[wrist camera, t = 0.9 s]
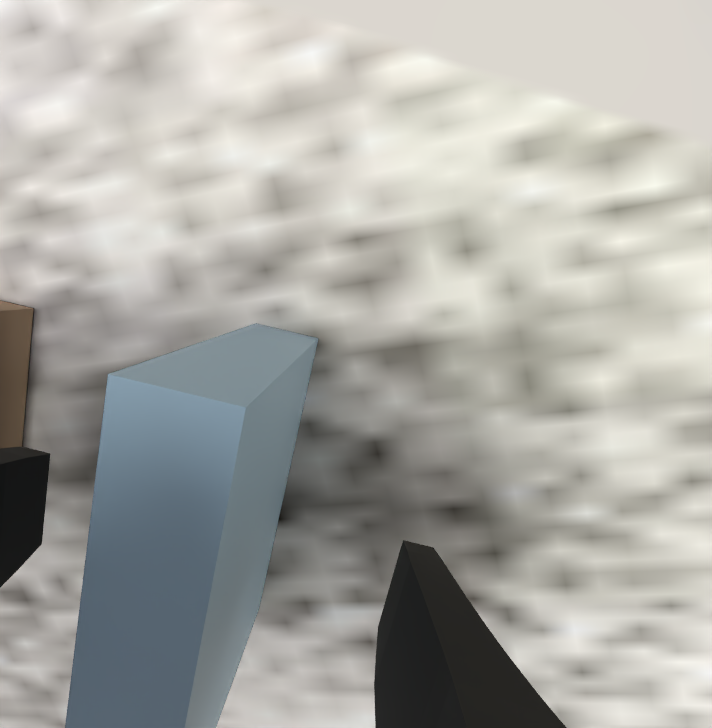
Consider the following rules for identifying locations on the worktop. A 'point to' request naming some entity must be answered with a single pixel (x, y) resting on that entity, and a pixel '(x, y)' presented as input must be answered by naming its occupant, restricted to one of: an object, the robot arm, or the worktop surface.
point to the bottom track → (13, 370)
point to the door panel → (184, 526)
